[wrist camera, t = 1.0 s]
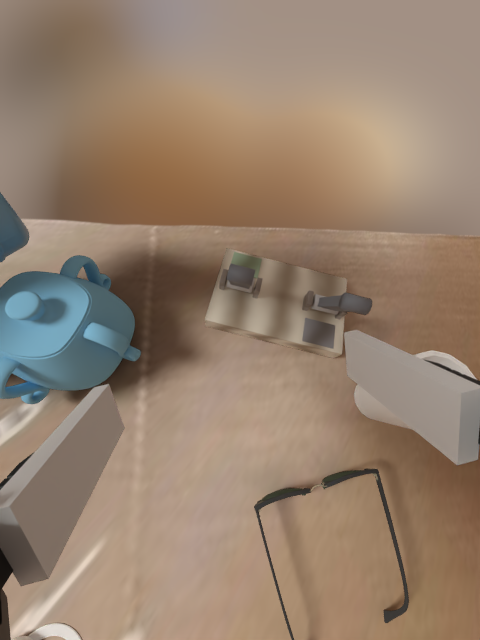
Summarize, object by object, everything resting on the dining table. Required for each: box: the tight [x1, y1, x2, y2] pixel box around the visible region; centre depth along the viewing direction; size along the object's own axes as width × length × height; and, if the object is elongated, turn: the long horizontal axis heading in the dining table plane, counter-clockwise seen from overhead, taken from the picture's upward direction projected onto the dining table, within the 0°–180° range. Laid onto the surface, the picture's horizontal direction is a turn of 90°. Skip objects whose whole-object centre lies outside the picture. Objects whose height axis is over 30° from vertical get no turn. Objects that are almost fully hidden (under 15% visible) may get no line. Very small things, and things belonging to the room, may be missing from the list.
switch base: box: [205, 248, 347, 358], centre depth 41 cm, size 22×14×5 cm, turn 77°
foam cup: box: [354, 350, 477, 430], centre depth 33 cm, size 10×9×13 cm
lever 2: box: [311, 293, 372, 315], centre depth 34 cm, size 4×2×12 cm, turn 77°
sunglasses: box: [254, 469, 409, 640], centre depth 29 cm, size 16×17×5 cm
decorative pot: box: [0, 255, 141, 404], centre depth 31 cm, size 16×16×14 cm
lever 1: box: [227, 264, 255, 293], centre depth 34 cm, size 4×2×12 cm, turn 77°
